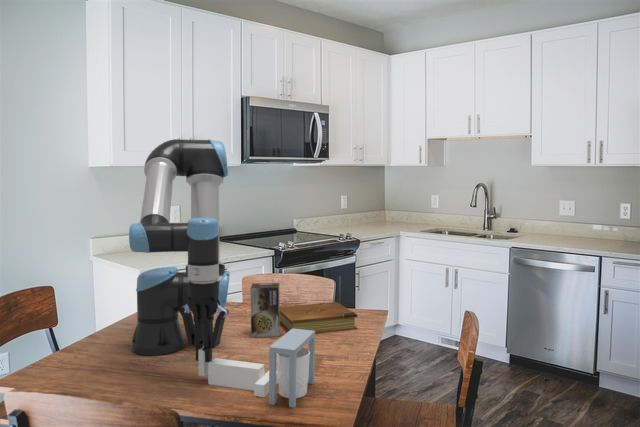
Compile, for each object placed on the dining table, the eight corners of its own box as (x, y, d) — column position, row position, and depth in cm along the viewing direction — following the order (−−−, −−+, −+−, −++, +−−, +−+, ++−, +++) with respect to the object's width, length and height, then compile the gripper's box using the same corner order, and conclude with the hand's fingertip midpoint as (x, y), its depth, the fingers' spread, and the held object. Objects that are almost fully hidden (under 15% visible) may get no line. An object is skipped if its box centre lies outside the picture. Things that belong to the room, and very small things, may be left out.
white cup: (279, 401, 122) (280, 359, 121) (273, 388, 130) (273, 347, 129) (313, 398, 124) (313, 356, 123) (305, 384, 132) (305, 345, 131)
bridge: (269, 404, 121) (269, 347, 120) (292, 379, 135) (292, 328, 134) (294, 407, 119) (294, 350, 118) (314, 382, 133) (315, 330, 132)
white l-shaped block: (202, 388, 129) (202, 366, 129) (220, 375, 138) (220, 354, 137) (264, 397, 124) (264, 374, 124) (278, 383, 133) (278, 361, 132)
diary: (335, 316, 196) (335, 301, 195) (357, 331, 178) (357, 314, 178) (275, 322, 188) (275, 305, 187) (291, 337, 170) (291, 320, 170)
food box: (280, 331, 176) (280, 282, 174) (279, 337, 169) (279, 287, 168) (252, 331, 175) (252, 282, 174) (250, 337, 169) (250, 286, 167)
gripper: (171, 281, 130) (172, 376, 132) (219, 285, 126) (220, 382, 128) (188, 276, 137) (189, 365, 139) (234, 279, 133) (234, 371, 135)
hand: (204, 373), depth 133 cm, fingers closed
